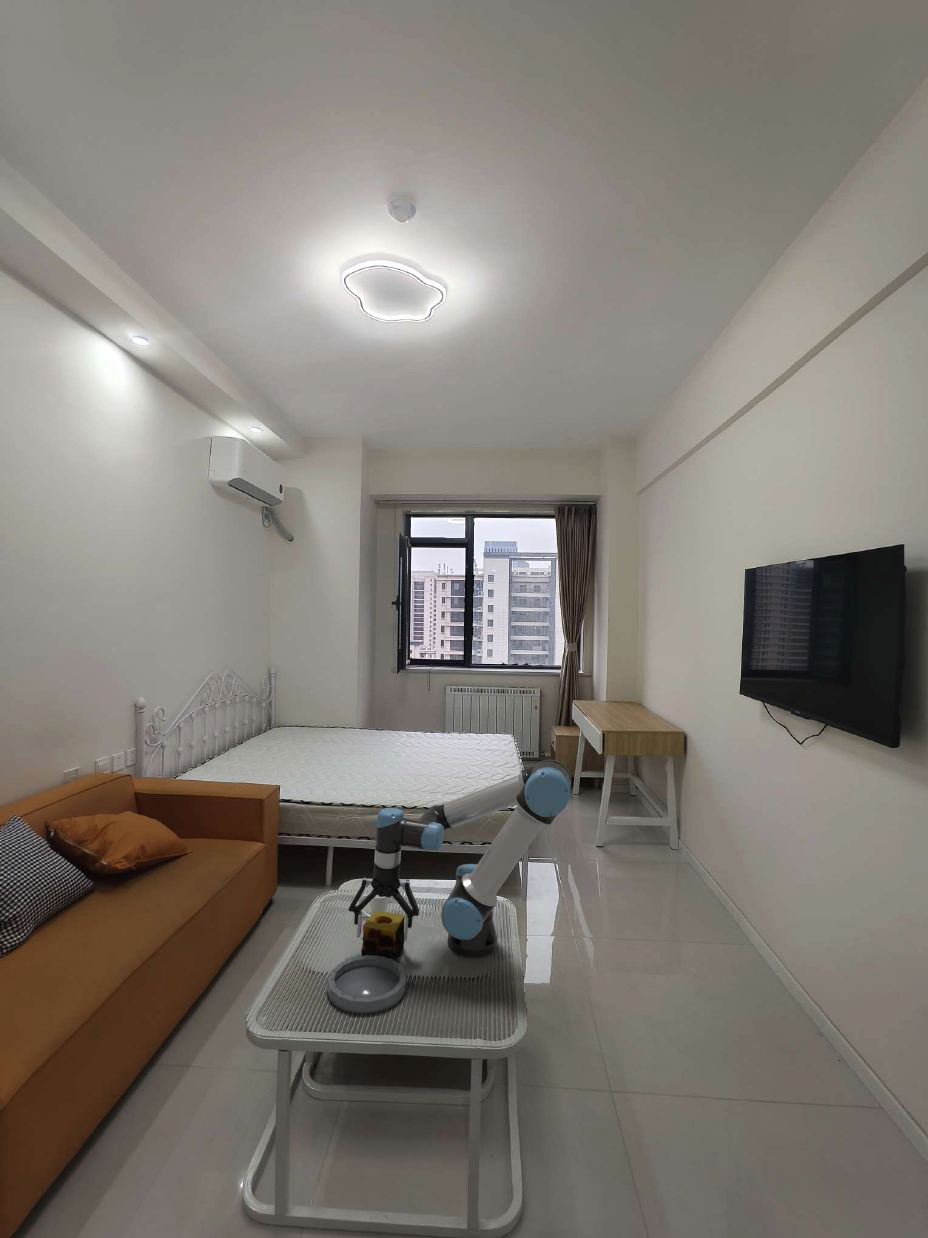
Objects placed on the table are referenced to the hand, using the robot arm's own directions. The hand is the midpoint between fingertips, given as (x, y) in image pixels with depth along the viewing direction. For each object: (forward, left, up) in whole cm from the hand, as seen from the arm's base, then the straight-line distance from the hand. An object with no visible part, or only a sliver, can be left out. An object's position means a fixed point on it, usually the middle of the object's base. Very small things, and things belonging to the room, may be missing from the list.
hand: (382, 937), depth 170 cm
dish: (+2, +16, -5) cm, 17 cm away
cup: (+6, -21, -5) cm, 22 cm away
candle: (0, 0, -5) cm, 5 cm away
